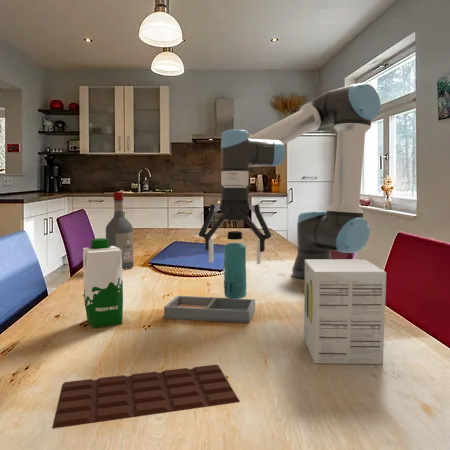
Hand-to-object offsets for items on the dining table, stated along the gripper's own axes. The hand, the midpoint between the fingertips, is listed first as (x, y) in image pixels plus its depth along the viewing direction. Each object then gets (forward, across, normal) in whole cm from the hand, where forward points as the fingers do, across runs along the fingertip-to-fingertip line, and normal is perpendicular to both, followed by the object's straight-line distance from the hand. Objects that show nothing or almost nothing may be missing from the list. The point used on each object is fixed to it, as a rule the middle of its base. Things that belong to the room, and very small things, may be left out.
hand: (234, 262), depth 122 cm
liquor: (+11, -53, +39) cm, 67 cm away
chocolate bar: (+12, -4, -56) cm, 57 cm away
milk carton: (+12, -28, -24) cm, 38 cm away
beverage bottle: (+11, 0, 0) cm, 11 cm away
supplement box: (+11, +27, -32) cm, 43 cm away
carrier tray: (+11, -4, -13) cm, 17 cm away
